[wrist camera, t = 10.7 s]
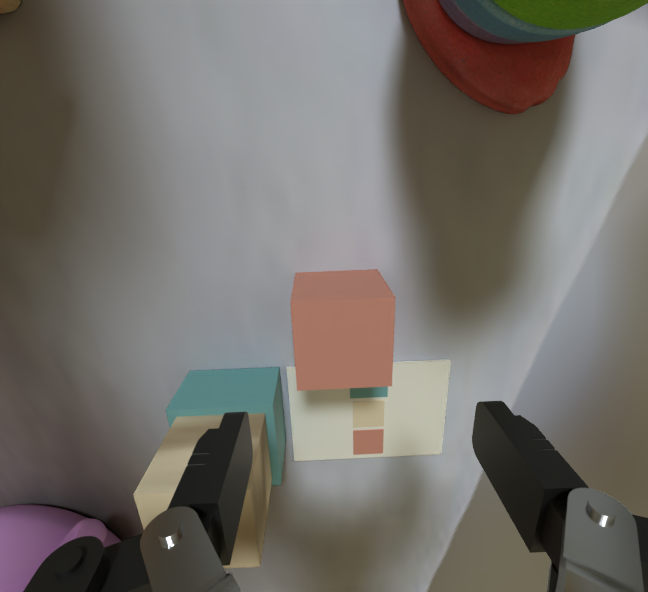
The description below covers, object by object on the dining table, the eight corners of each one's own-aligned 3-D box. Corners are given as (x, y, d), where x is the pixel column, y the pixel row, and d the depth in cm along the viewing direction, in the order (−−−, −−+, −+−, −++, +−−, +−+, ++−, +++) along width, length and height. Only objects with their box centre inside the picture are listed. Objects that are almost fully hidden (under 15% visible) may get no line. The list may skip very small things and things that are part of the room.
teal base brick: (189, 371, 23) (165, 410, 19) (279, 367, 23) (272, 405, 20) (203, 442, 25) (184, 489, 22) (286, 438, 25) (281, 485, 22)
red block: (295, 272, 21) (290, 301, 17) (377, 269, 21) (395, 297, 17) (300, 345, 23) (297, 390, 18) (375, 341, 23) (391, 386, 18)
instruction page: (286, 366, 23) (286, 368, 23) (449, 359, 23) (451, 361, 23) (294, 459, 26) (294, 461, 26) (440, 452, 26) (441, 454, 26)
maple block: (176, 416, 20) (133, 494, 15) (265, 413, 20) (249, 489, 15) (190, 483, 21) (155, 571, 17) (272, 479, 21) (260, 566, 17)
